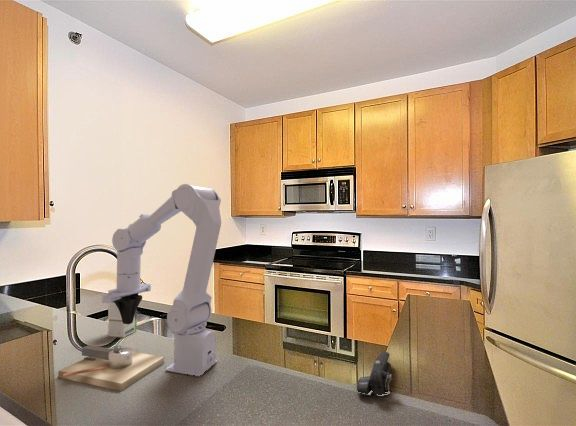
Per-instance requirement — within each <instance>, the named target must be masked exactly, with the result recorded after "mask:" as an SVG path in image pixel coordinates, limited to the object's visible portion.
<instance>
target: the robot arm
mask: <svg viewBox="0 0 576 426" xmlns="http://www.w3.org/2000/svg"><path fill="white" fill-rule="evenodd" d="M221 202H222V199H221V197H220V196H219V195H218V193H217V191H216V190H215V189H214V188H211V187H203V186H197V185H191V184H189V183H183V184H180V185H179V186H178V187H177V188H176V189H174V190H172V192H171V196H170V197H168V199H167V200H165V202H164V203H162V204H161V205H160V206H159V207H158V208H157V209H156V210H155V211H154V212H152V213H142V214H140V215H139V218H137V220H135V221H134V222H133V223H130V224H128V226H127V227H125V228H117V229H116V231H114V233H113V235H112V238H111V239H112V240H111V241H112V242H111V243H112V246H113V249H115V250H116V254H117V255H116V287H115V288H116V289H115V290H114V291H112V292H110V293H108V292H107V293H105V294H102V297H101V299H102V300H101V303H102V304H108V303H111V302H112V301H114V303H115V304H116V306H117V307H118V309H119V312H120V314H121V318H122V322H123V324H131V323H133V319H134V316H135V312H136V310H137V309H138V307H139V305H140V304H141V301H142V300H143V295H141V294H142V293H145V292H151V288H152V287H151V286H152V285H151V284H150V283H142V284H141V264H142V263H141V260H142V259H141V257H142V255H143V254H144V253H143V252H144V247H146V246H145V245H146V243H147V240H150V238H152V237H154V235H156V234H158V233H159V232H160V230H161V228H162V224H164V223H165V222H166V221H168V220H170V219H171V218H173V217H174V216H176V215H178V214H180V213H181V212H182V213H183V214H184V215H185V216H186V217H187V218H188V219H190V220H191V221H192V222H193V224H194V225H195V227H196V229H195V232H194V236H193V243H192V246H191V251H190V255H189V260H188V264H187V270H186V275H185V278H184V283H183V287H182V290H181V291H180V292H179V293H178V294H177V296H175V298H174V299H173V302H172V304H171V308H169V310H168V312H167V314H166V323H167V325H168V328H169V329H170V330H171V333H172V334H173V337H174V339H173V341H174V342H173V363H171V364H170V365H168V366H167V367H166V368H165V371H166V372H171V373H176V374H177V373H178V374H184V375H187V374H188V375H187V376H193V375H195V376H194V377H201V376H202V375H203V374H204V372H205V371H206V370H207V371H208V370H209V369H211V368H212V367H213V366H214V365H215V364H216V363H218V360H217V357H216V353H217V349H216V348H217V347H216V346H217V343H216V341H217V340H216V334H215V332H214V331H211V330H208V329H207V328H206V326H207V324H208V323H207V322H208V320H210V318H211V317H212V306H211V305H212V304H211V301H212V296H211V294H209V293H208V291H207V290H208V286H209V280H210V277H211V273H212V272H211V271H212V267H213V264H214V258H215V254H216V249H217V244H218V242H219V241H218V240H219V237H220V236H219V235H220V231H221V226H222V217H221V212H220V211H221V210H220V205H221ZM212 365H213V366H212ZM211 366H212V367H211ZM207 371H206V372H207ZM206 372H205V373H206ZM200 375H201V376H200Z"/></svg>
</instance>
